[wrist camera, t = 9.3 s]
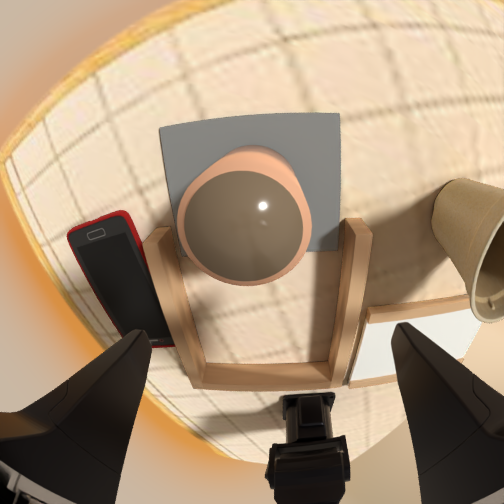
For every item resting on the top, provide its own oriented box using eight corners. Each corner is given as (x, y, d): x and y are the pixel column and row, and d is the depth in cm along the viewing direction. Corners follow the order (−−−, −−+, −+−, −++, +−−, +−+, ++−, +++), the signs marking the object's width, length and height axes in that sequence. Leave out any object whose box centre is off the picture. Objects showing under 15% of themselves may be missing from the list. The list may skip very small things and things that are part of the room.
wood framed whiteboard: (492, 289, 21) (497, 294, 20) (457, 360, 26) (460, 365, 26) (367, 307, 22) (370, 314, 22) (347, 382, 28) (348, 389, 27)
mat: (337, 249, 20) (337, 250, 20) (182, 255, 21) (181, 256, 21) (338, 113, 15) (339, 113, 15) (160, 127, 16) (159, 127, 16)
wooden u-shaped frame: (337, 366, 27) (340, 387, 24) (198, 368, 28) (193, 388, 26) (360, 218, 19) (373, 233, 16) (156, 227, 20) (142, 244, 18)
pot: (298, 227, 19) (310, 286, 13) (215, 231, 20) (189, 289, 13) (295, 142, 16) (311, 158, 10) (204, 149, 17) (165, 169, 11)
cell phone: (129, 205, 20) (123, 209, 19) (192, 339, 26) (190, 346, 25) (69, 228, 21) (63, 232, 20) (133, 343, 28) (130, 349, 27)
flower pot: (393, 240, 19) (445, 310, 12) (442, 136, 15) (523, 161, 7) (459, 273, 20) (506, 331, 13) (502, 189, 16) (564, 229, 8)
